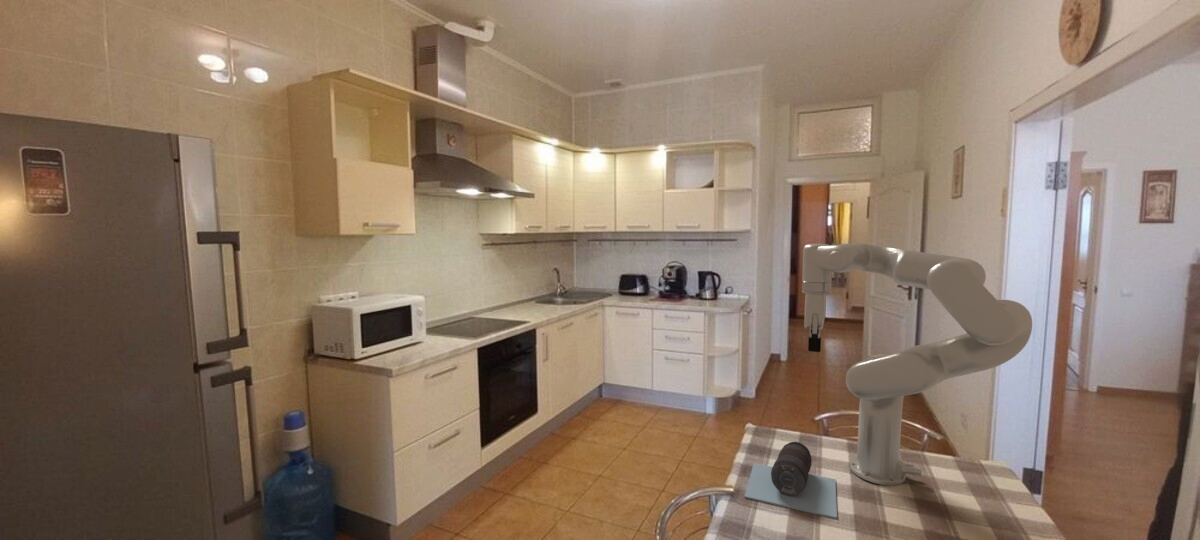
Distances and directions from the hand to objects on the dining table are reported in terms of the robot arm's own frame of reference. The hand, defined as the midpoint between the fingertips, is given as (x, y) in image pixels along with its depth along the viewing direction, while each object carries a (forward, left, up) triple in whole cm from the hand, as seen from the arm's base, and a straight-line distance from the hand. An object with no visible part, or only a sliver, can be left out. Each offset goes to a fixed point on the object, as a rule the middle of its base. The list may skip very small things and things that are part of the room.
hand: (814, 350), depth 135 cm
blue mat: (+4, +25, -29) cm, 39 cm away
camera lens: (+3, +14, -25) cm, 29 cm away
